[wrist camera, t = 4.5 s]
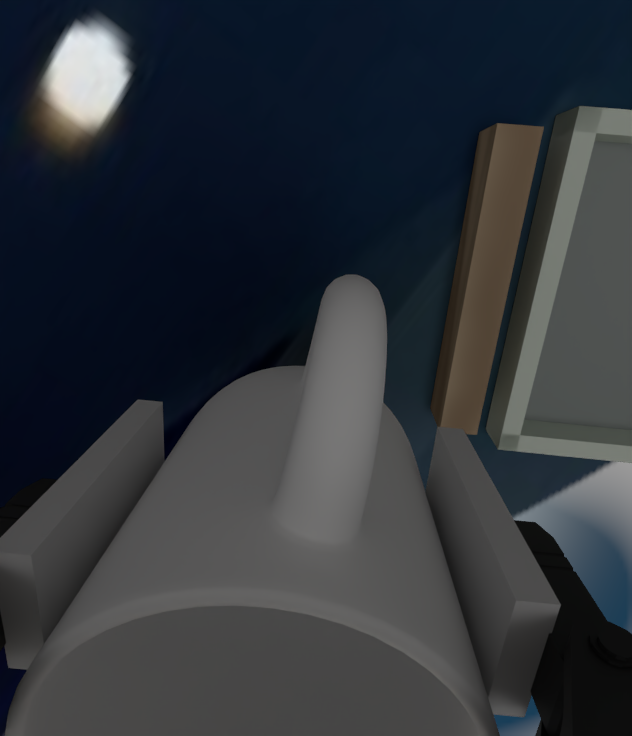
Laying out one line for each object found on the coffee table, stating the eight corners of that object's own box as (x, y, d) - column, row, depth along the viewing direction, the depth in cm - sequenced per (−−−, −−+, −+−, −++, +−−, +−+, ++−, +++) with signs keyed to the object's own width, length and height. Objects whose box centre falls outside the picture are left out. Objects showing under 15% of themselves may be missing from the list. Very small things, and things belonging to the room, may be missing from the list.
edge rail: (430, 408, 29) (439, 430, 26) (479, 132, 24) (497, 123, 21) (463, 411, 29) (476, 434, 26) (520, 135, 23) (543, 126, 21)
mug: (228, 219, 15) (20, 253, 5) (481, 286, 15) (741, 438, 5) (172, 528, 19) (-5, 880, 9) (375, 575, 19) (414, 963, 9)
